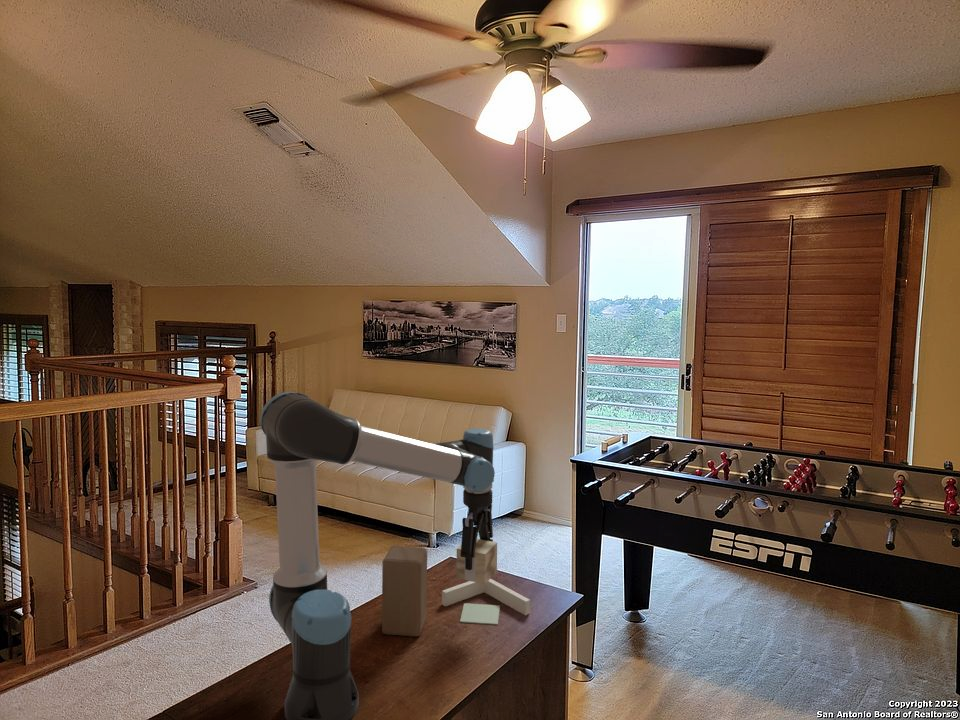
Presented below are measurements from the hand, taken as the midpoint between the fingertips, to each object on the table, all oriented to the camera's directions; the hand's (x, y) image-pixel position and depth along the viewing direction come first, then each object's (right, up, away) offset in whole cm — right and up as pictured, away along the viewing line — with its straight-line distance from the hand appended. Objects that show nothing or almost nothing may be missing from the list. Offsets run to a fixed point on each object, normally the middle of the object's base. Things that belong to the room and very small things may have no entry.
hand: (476, 573), depth 173 cm
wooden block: (-19, -14, -1) cm, 23 cm away
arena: (+1, -13, +9) cm, 16 cm away
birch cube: (0, 0, 0) cm, 0 cm away
